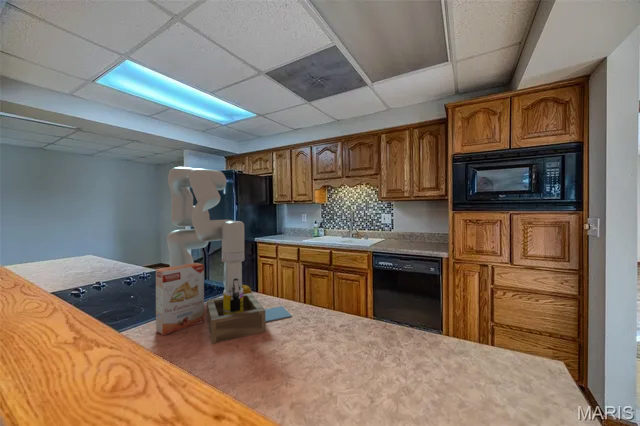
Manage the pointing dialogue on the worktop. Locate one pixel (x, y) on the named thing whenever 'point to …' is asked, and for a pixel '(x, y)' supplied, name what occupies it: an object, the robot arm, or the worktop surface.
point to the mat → (276, 314)
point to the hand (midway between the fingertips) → (233, 306)
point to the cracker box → (179, 297)
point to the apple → (246, 289)
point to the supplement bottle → (227, 302)
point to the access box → (235, 319)
